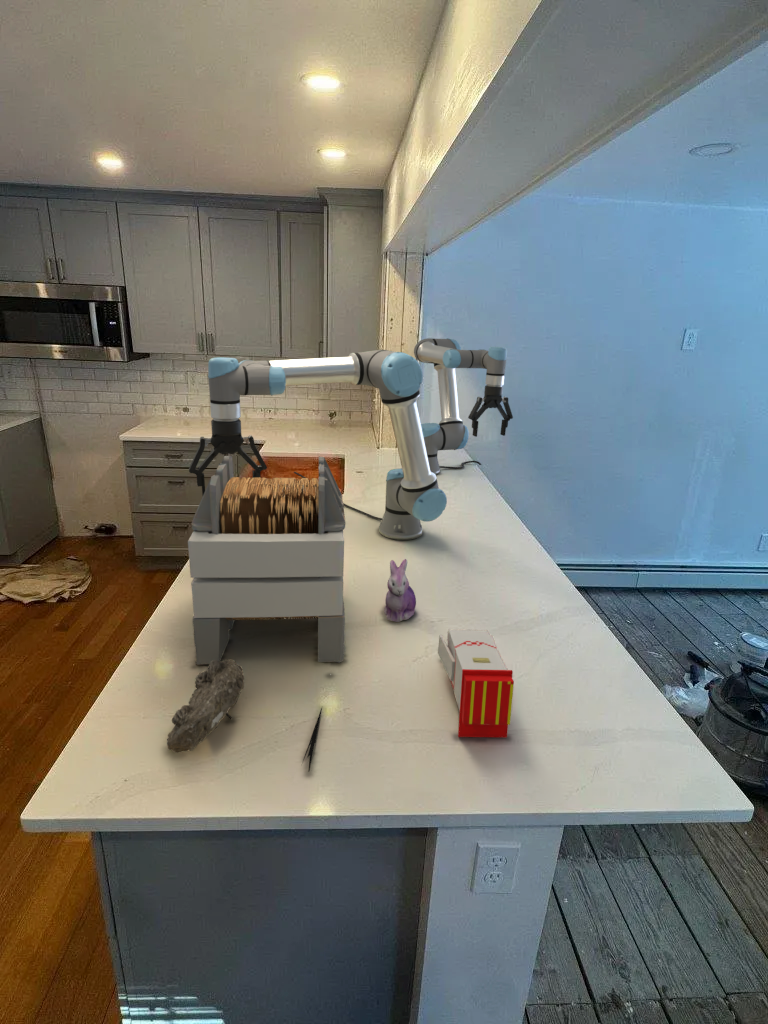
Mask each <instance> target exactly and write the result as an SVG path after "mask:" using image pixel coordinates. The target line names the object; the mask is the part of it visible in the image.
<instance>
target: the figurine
mask: <svg viewBox="0 0 768 1024" xmlns="http://www.w3.org/2000/svg"><path fill="white" fill-rule="evenodd" d="M407 567H408V559H406V558H404V559H403V560H402V561H401V563H400V565H399V566H398V565H397V563H396V562H395V561H394V560H393V559H391V560H390V561H389V570H390V576H389V578H388V579H387V589H388V591H387V592H386V594H385V595H386V596H385V607H384V615H385V616H386V620H387V621H391V622H395V623H400V622H402V621H406V620H409V619H410V618H411V617H413V616H414V615H415V610H416V606H417V597H416V593H415V591H414V590H413V587H411V586H410V582H409V579H408V577H407V574H406V571H407Z"/></svg>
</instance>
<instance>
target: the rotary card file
mask: <svg viewBox="0 0 768 1024" xmlns="http://www.w3.org/2000/svg"><path fill="white" fill-rule="evenodd" d="M217 465H218V466H217V468H216V470H215V473H214V475H211V477H210V479H209V481H208V483H207V485H206V487H205V493H204V495H203V496H202V497H201V499H200V502H199V504H198V507H197V508H196V511H195V512H194V515H193V518H192V520H191V530H192V533H191V534H190V537H189V538H188V540H187V548H188V561H189V562H188V563H189V573H190V574H189V575H190V578H193V579H192V581H191V585H190V586H191V597H192V610H193V612H192V613H193V616H192V631H193V642H194V651H195V665H196V666H202V665H210V662H211V661H212V660H217V661H222V658H223V655H224V652H225V651H226V648H227V647H228V643H229V641H230V631H232V630H233V627H234V622H235V621H253V620H255V621H256V620H257V621H260V620H261V621H264V620H265V621H268V620H269V621H270V620H307V619H308V620H309V619H310V620H312V619H315V620H317V662H318V663H338V664H339V663H341V662H343V661H344V660H345V642H346V641H345V639H346V637H345V636H346V635H345V634H346V631H345V630H346V626H345V625H346V614H345V602H344V601H345V600H344V566H345V565H344V564H345V563H344V562H345V537H344V536H345V535H344V531H345V529H346V517H345V506H343V503H344V499H343V493H342V492H341V490H340V488H339V485H338V483H337V481H336V479H335V477H334V475H333V473H332V470H331V469H330V466H329V464H328V462H327V460H326V457H325V456H319V455H318V477H311V478H308V477H306V478H302V477H301V478H296V477H272V478H271V477H261V478H255V477H254V478H253V476H252V477H249V476H248V477H245V476H244V477H237V476H236V477H235V476H234V461H233V455H224V456H223V458H222V461H221V463H218V464H217ZM309 480H310V481H309Z"/></svg>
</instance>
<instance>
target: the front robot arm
mask: <svg viewBox="0 0 768 1024" xmlns="http://www.w3.org/2000/svg"><path fill="white" fill-rule="evenodd" d="M207 369H208V370H207V371H208V372H207V373H208V375H207V379H208V388H209V389H208V392H209V405H210V417H211V421H210V424H211V437H204V436H200V437H199V445H198V447H197V450H196V451H195V454H194V456H193V458H192V460H191V463H190V464H189V467H188V472H189V473H190V474H194V475H195V476H196V485H197V487H201V495H202V497H203V495H204V493H205V490H206V482H205V473H204V472H205V470H206V469H207V468H208V466H209V465H211V463H212V461H213V460H214V459H215V458H216V457H217V456H218V455H219V454H220V455H227V454H228V455H235V454H236V453H237V454H238V455H240V457H242V458H243V460H245V461H246V462H247V464H249V466H250V467H251V468H252V477H253V478H254V477H255V478H262V477H261V472H263V471H265V470H267V469H268V466H267V464H266V462H265V461H264V459H263V457H262V455H261V454H260V452H259V450H258V448H257V446H256V444H255V439H254V436H253V435H252V434H250V435H247V436H242V421H241V416H242V414H241V396H244V397H245V396H276V395H283V394H284V393H285V391H286V388H287V387H291V386H307V385H309V386H310V385H324V384H325V385H326V384H339V383H350V384H351V385H352V386H368V387H372V388H376V389H378V391H379V396H380V399H381V404H382V405H384V406H386V407H387V408H388V413H389V416H390V421H391V425H392V430H393V434H394V439H395V443H396V448H397V452H398V457H399V460H400V461H399V462H400V464H401V468H393V469H390V470H388V472H387V473H386V479H385V504H384V505H385V507H384V508H385V509H384V513H383V515H382V517H378V516H375V515H372V514H369V513H368V512H365V511H363V510H360V509H357V508H355V507H354V506H353V507H352V506H350V505H348V504H346V503H345V502H343V506H344V507H345V508H348V509H350V510H352V511H355V512H357V513H359V514H362V515H365V516H367V517H368V518H369V517H370V518H372V519H375V520H377V521H381V522H379V526H378V533H379V534H380V535H381V536H382V537H385V538H387V539H389V540H395V541H410V540H415V539H418V538H420V537H421V536H422V535H423V525H422V524H421V521H422V522H427V523H429V522H433V521H435V520H437V519H438V518H439V517H440V516H441V515H442V514H443V512H444V511H445V509H446V507H447V503H448V499H447V495H446V493H445V491H443V489H441V488H439V483H438V478H437V475H435V474H434V473H433V472H431V471H430V467H429V462H428V457H427V452H426V447H425V442H424V437H423V432H422V427H421V424H422V423H421V418H420V413H419V412H420V411H419V408H418V403H417V400H418V398H419V397H420V395H421V392H420V388H421V384H422V383H423V379H424V375H423V374H424V373H423V368H422V366H421V365H420V362H419V361H418V360H417V359H416V357H413V356H412V355H410V354H408V353H405V352H403V351H392V350H387V349H375V350H368V351H360V352H350V353H349V354H348V356H331V357H309V358H287V359H269V360H252V359H244V360H241V361H240V362H239V360H238V358H235V357H223V356H222V357H212V358H210V359H209V360H208V368H207ZM244 442H245V444H246V445H248V446H250V449H251V451H252V452H253V454H254V456H255V458H256V459H257V462H259V465H258V464H257V463H256V462H255V461H254V460H253V459H252V458H251V456H249V454H247V453H246V451H244V449H243V448H242V445H243V444H244ZM209 444H211V445H212V447H213V448H212V449H211V451H210V452H209V453H208V455H207V456H206V457H205V458H204V459H203V460H202V462H201V463H200V465H199V466H198V464H199V461H200V460H201V457H202V455H203V453H204V450H205V447H208V446H209ZM197 466H198V467H197ZM293 474H295V475H296V476H299V477H301V478H307V477H306V476H304V475H302V474H301V473H298V472H296V471H293ZM309 481H310V479H309Z"/></svg>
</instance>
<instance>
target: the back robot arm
mask: <svg viewBox="0 0 768 1024" xmlns="http://www.w3.org/2000/svg"><path fill="white" fill-rule="evenodd" d="M413 355H414V358H415V359H416V360H417V361H418V362H419V363H424V364H433V369H434V370H435V371H436V372H437V381H438V382H437V383H438V393H439V404H440V416H441V417H440V418H441V420H440V421H439V423H437V422H425V423H421V427H422V432H423V437H424V442H425V447H426V452H427V457H428V462H429V467H430V471H431V472H433V473H434V474H435V475H436V476H437V475H439V474H440V473H441V469H449V470H450V469H451V470H461V469H464V468H465V465H466V464H472V463H475V464H478V465H479V466H482V463H481V462H480V461H478V460H467V461H462V462H461V463H460V465H461V466H449V465H448V466H445V465H440V463H439V458H438V453H439V452H438V451H457V450H462V449H464V448H465V447H466V446H467V444H468V441H469V435H470V432H469V429H468V427H467V425H464V421H463V420H462V419H461V418H460V411H459V398H458V390H457V387H458V386H457V378H456V377H457V376H456V369H485V370H486V374H485V382H484V383H485V385H484V391H483V393H484V396H483V397H481V396H477V398H476V402H475V404H474V406H473V407H472V409H471V411H470V413H469V415H468V417H467V419H469V420H471V428H472V437H475V438H476V437H478V431H479V418H481V416H482V415H483V414H484V413H485V412H486V410H488V409H497V410H498V413H500V415H501V417H502V419H501V426H500V435H501V436H504V437H505V436H506V433H507V428H508V426H509V421H510V420H512V419H513V418H514V416H513V412H512V409H511V406H510V404H509V397H508V396H503V391H504V385H505V373H506V365H507V360H508V356H507V355H508V349H507V348H506V347H502V346H490V347H489V348H488V350H487V349H462V348H461V344H460V343H459V342H458V340H456V339H454V338H453V339H452V338H432V337H431V338H430V337H429V338H423V339H421V340H419V341H418V342H417V343H416V344H415V346H414V348H413ZM502 396H503V397H502ZM501 403H502V404H503V406H502V404H501ZM503 407H504V408H503Z"/></svg>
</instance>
